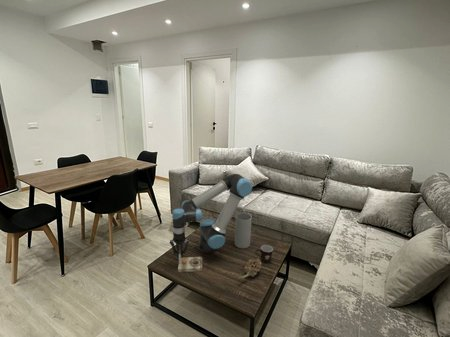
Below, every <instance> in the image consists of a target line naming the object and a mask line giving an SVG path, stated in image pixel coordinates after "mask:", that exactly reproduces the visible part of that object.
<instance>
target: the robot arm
mask: <svg viewBox="0 0 450 337" xmlns="http://www.w3.org/2000/svg"><path fill="white" fill-rule="evenodd" d="M226 191H228V192H229V194H228V197H227V199H226V201H225V203H224V205H223V208H222V209H221V210H220V213H219V215H218V217H217V219H216V221H215V220H214V219H213V218H206V219H203V212H202V209H200V207H202V206H203V205H205V204H206V203H208V202H209V201H211V200H213V199H214V198H216V197H217V196H219V195H221V194H222V193H224V192H226ZM252 191H253V185H252V182H251V181H250V180H248V178H245V177H244V176H243V175H241V174H239V173H232V174H229V175H226V176H225V177H223V178H221V180H220V181H219V182H218V183H216V184H215V185H213V186H211V187H209V188H208V189H207V190H204V191H203V192H202V193H200V194H198V195H197V196H195V197H194V198H192V199H190V200H188V199H187V200H183V202H182V203H181V208H175V209H173V211H172V215H171V218H172V232H173V233H172V235H173V236H172V239H170V240H169V244H170V245H171V248H172V251H173V254H174V255H176V258H177V259H178V264H179V263H181V258H183V257H184V254H186V252H187V247H188V244H189V243H190V239H189V238H187V237H186V234H185V233H186V231H185V226H186V225H185V224H187V223H191V222H193V223H194V222H197V221H200V223H199V241H198V243H197V249H198V251H199V252H201V253H204V254H211V253H213V252H214V253H215V252H216V250H218V249H220V248H221V247H223V246H224V245H225V243H226V237H225V236H226V234H227V230H226V229H227V227H228V226H229V223H230V221H231V219H232V218H233V216H234V214H235V212H236V210H237V208H238V206H239V204H240V203H241V201H242V200H245V198H246V197H247V196H249V195H251V192H252ZM184 243H185V245H183V244H184ZM175 245H176V246H175Z"/></svg>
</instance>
